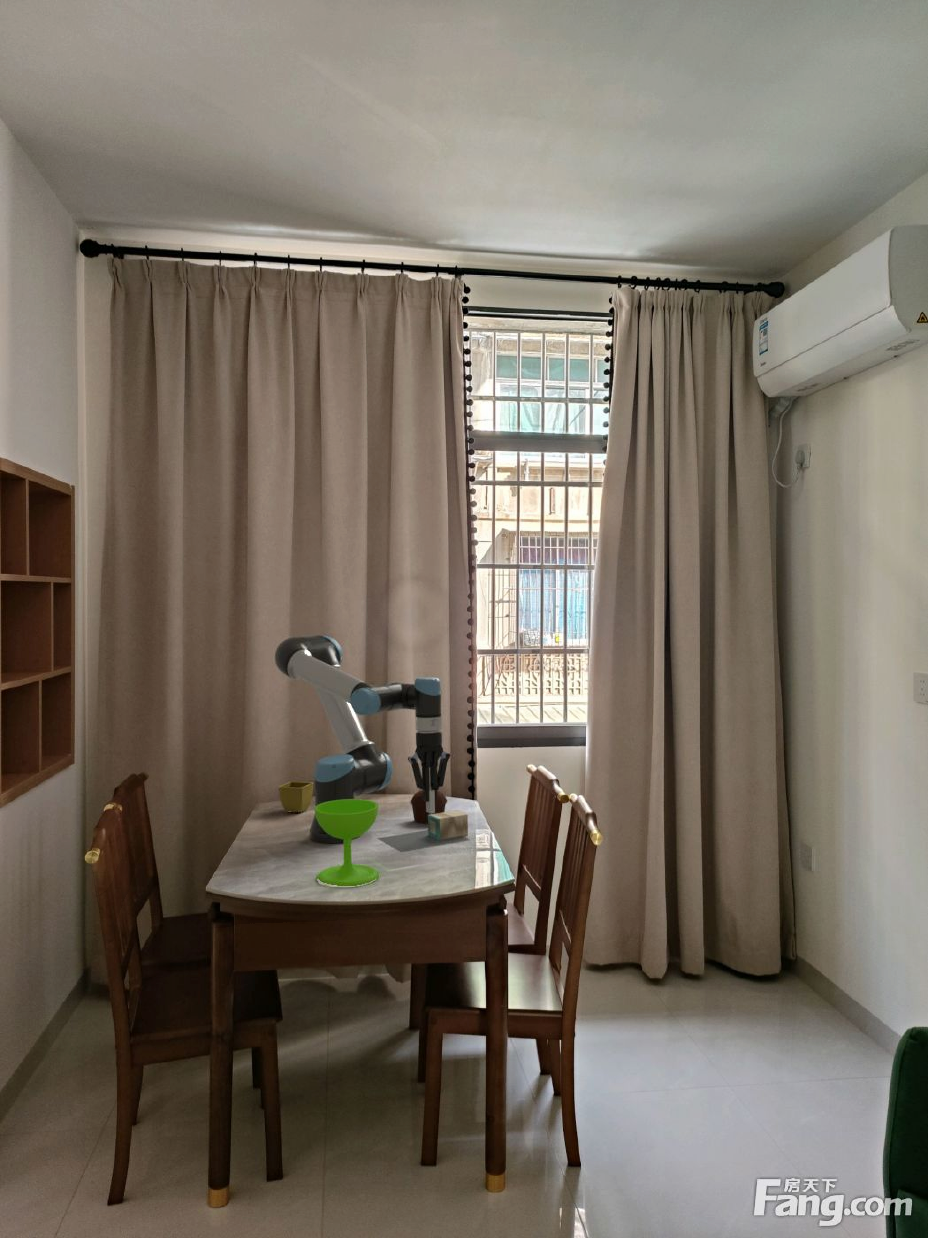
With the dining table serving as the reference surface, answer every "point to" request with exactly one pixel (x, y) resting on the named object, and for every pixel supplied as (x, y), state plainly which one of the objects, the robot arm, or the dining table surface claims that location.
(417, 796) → the muffin
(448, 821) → the maple block
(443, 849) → the dining table surface
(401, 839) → the slate mat
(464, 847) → the dining table surface
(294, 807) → the flower pot
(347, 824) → the wineglass
